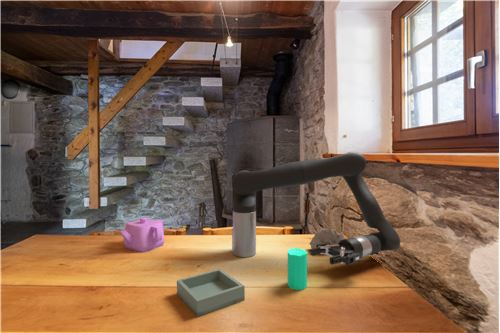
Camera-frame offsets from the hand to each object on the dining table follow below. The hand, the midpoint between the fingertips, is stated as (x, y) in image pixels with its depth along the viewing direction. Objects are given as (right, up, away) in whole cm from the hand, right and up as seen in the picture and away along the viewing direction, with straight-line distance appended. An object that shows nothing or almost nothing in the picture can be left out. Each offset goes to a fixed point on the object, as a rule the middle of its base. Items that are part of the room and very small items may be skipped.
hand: (320, 256), depth 91 cm
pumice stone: (+10, -6, +26) cm, 28 cm away
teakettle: (-69, -6, +32) cm, 77 cm away
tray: (-34, -8, -11) cm, 37 cm away
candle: (-8, -7, -4) cm, 12 cm away
